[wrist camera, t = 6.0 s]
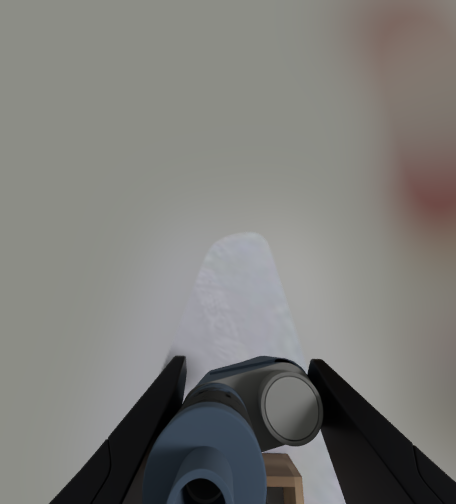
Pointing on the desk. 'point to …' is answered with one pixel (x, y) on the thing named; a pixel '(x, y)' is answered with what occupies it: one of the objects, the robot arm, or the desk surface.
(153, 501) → the vaping device
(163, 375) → the robot arm
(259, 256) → the desk surface
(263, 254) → the desk surface
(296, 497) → the box
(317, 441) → the desk surface
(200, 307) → the desk surface
